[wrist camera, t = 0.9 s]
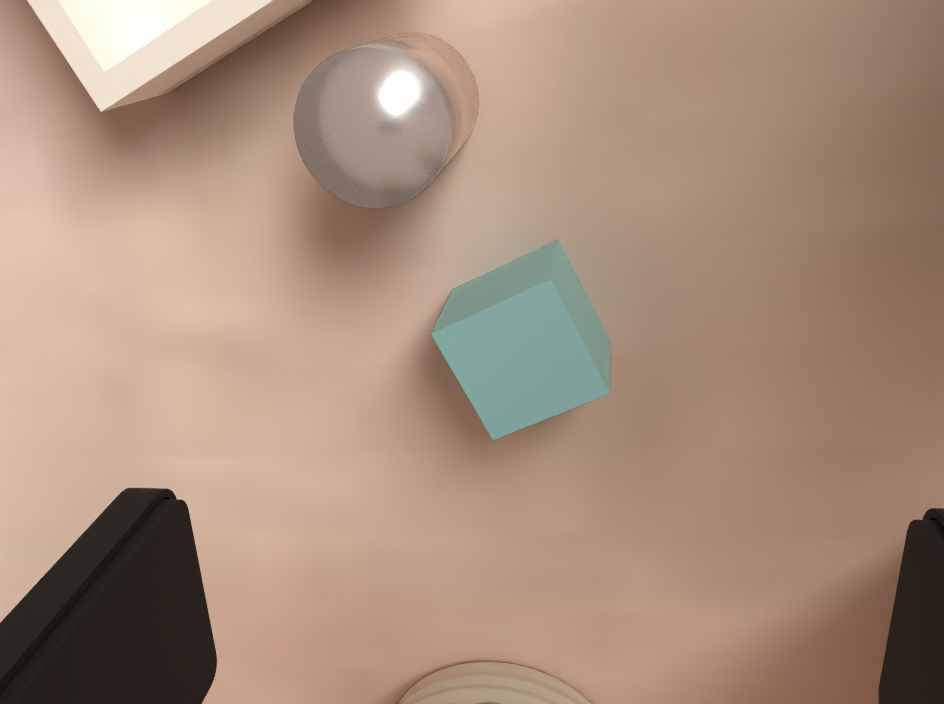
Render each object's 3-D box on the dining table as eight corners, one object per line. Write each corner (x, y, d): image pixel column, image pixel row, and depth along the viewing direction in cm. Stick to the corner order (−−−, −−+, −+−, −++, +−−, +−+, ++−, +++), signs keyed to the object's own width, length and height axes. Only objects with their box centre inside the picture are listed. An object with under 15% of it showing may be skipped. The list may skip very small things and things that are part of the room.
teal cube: (558, 238, 35) (550, 279, 30) (609, 340, 36) (610, 393, 32) (452, 288, 36) (430, 334, 32) (506, 384, 38) (493, 440, 33)
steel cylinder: (439, 7, 32) (396, 16, 25) (501, 128, 33) (475, 166, 27) (330, 72, 33) (264, 96, 27) (393, 185, 35) (345, 233, 28)
